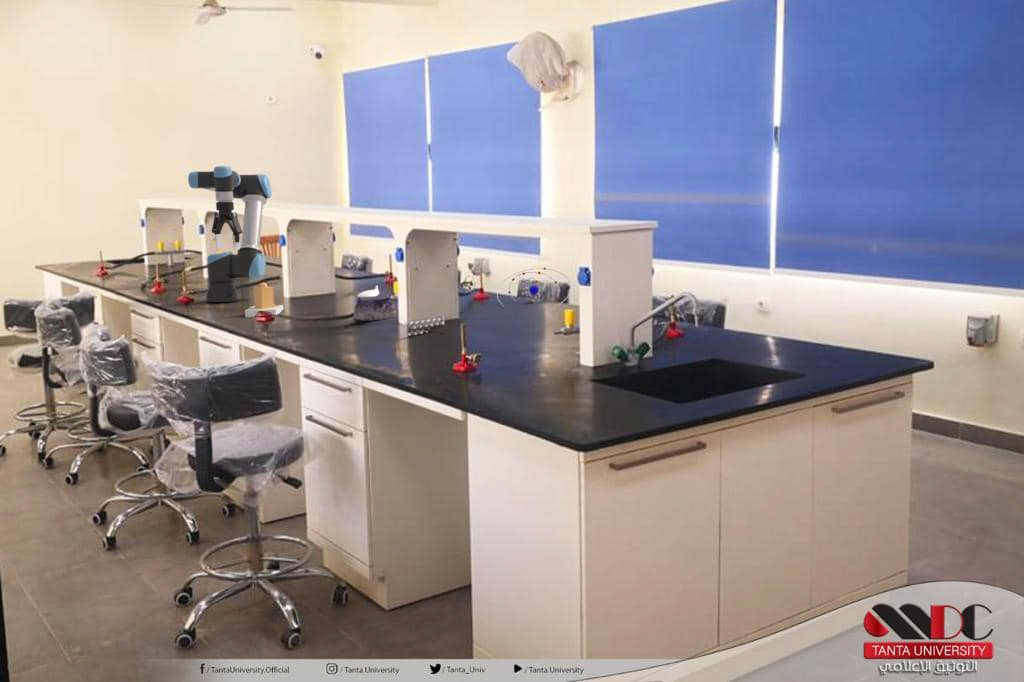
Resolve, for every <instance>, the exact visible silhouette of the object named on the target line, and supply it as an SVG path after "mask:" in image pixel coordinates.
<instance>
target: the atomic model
mask: <svg viewBox="0 0 1024 682" xmlns="http://www.w3.org/2000/svg"><path fill="white" fill-rule="evenodd" d="M532 270H534V268H530V269H525V270H521V271H519V272H516V273H514V274H512V275H510V276H508V277H507V278H506V279H504V280H503V281H502V282H501V283H500V285H499V287H498V289H497V291H496V296H497V297H496V298H497V300H498V302H499V303H500V304H502V302H501V301H500V299H499V296H498V295H499V294H498V293H499V290H500V287H501V285H502V284H503V283H504V282H506V280H508V279H510V278H511V277H512V278H511V281H510V283H509V285H508V286H509V287H508V294H510V297H511V299H513V300H514V301H515V302H517V300H516V299H515V298H514V297H513V296H512V294H511V293H512V292H511V285H512V282H514V281H515V279H516V278H517V277H519V276H521V275H523V276H525V275H526V274H528V273H529V274H530V273H533V271H532ZM537 270H548V271H554V272H557V273H559V274H561V275H563V276H564V277H565V278H566V279H567V280H568V282H569V283H570V285H572V283H571V280H570V279H569V277H568V276H566V275H565V274H564V273H562V272H561V271H558V270H556V269H555V270H554V269H550V268H546V267H542V268H537ZM527 271H528V272H527ZM535 273H536V274H538V275H541V274H542V275H544V276H547V277H549V278H550V279H551V280H553V281H554V284H556V286H557V290H558V292H557V293H558V294H557V296H555V299H554V301H556V300H558V299H559V294H560V287H559V284H558V281H556V280H555V279H554V278H553V277H551V276H550V275H548V274H546V273H544V272H540V271H534V274H535ZM514 275H516V276H515V277H514V278H513V276H514ZM531 279H533V280H535V283H536V284H537V285H531V287H530V280H531ZM538 282H539V281H538V280H537V279H535V277H530V278H529V279H528V282H527V283H528V284H527V287H528V288H527V290H528V295H529V297H530V300H531V301H533V303H534V302H535V303H539V301H540V298H541V290H540V284H539V283H538ZM571 292H572V289H570V290H569V292H568V295H567V296H566V297H565V298H564V300H563V301H561V302H560V303H558V304H557V306H559V305H561V304H563V302H565V301H566V300H567V299H568V298H569V296H570V295H571ZM538 293H539V297H538V300H537V301H535V300H533V299H534V298H533V295H534V296H535V295H537V294H538ZM531 295H532V296H531ZM502 307H505V305H503V304H502Z"/></svg>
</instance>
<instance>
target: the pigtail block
mask: <svg viewBox="0 0 1024 682" xmlns="http://www.w3.org/2000/svg"><path fill="white" fill-rule="evenodd" d="M258 311H269V312H271V313H272V314H274V315H277V314H278V315H279V314H280V313H281V312H283V311H284V304H274V308H265V309H259V308H255V306H254V305H253V306H251V307H249V308H247V309H245V310H244V316H245V318H256V317H255V315H256V314H257V312H258ZM278 315H277V316H278Z"/></svg>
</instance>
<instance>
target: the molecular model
mask: <svg viewBox="0 0 1024 682" xmlns="http://www.w3.org/2000/svg"><path fill="white" fill-rule="evenodd" d="M441 318H442V321H441ZM441 318H437V320H436V318H433V319H432V321H431V319H430V318H429V319H427V320H426V322H425V320H424V319H422V320H421V321H419V320H416V321H415V323H414V322H413V321H410V322H409V324H408V322H407V321H405V322H404V332H405V334H404V335H405V337H406V338H407V337H409V336H411V335H415V336H417V335H418V334H421V335H422V334H423V333H426V334H428V333H429V330H430V329H431V328H430V327H433V328H435V327H436V326H441V325H445V321H446V319H445V316H444V315H443V316H441ZM424 327H425V328H427V327H428V328H427V330H425V328H424ZM407 329H411V331H410V332H408V334H407ZM413 329H416V330H415V332H414V331H413ZM419 329H421V330H419ZM431 332H432V333H433V332H435V331H434V330H431Z"/></svg>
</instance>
